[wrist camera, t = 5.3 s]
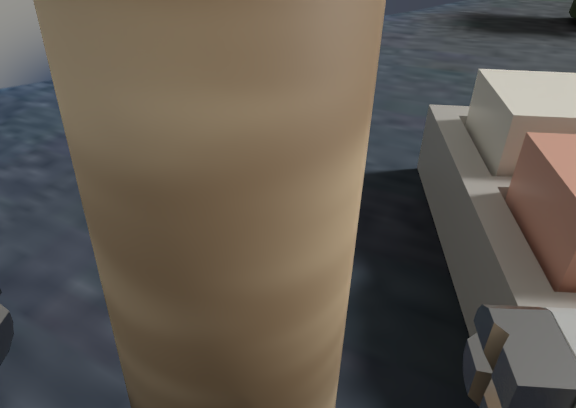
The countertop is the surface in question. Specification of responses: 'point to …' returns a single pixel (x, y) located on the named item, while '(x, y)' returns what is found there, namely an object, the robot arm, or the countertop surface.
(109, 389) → the countertop surface
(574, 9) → the character mug
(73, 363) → the countertop surface
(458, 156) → the keypad bezel
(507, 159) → the ivory key
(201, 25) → the tan wooden cylinder
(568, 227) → the terracotta key
